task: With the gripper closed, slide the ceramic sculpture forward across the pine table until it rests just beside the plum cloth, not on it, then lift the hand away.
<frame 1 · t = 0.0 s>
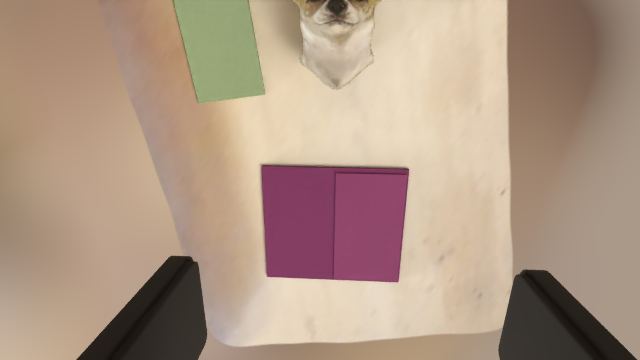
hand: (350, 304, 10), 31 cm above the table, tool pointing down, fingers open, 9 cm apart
plum cloth: (333, 226, 44), on the table
ceramic sculpture: (337, 14, 36), on the table
sage cloth: (220, 44, 37), on the table
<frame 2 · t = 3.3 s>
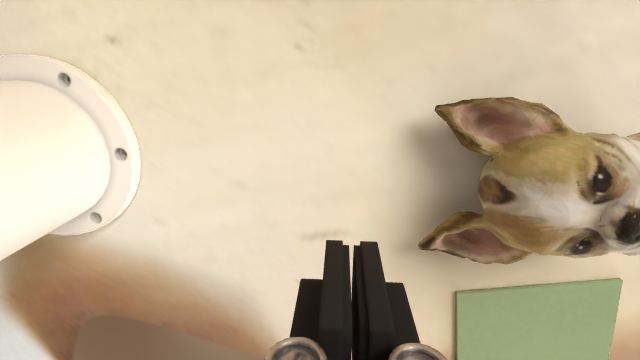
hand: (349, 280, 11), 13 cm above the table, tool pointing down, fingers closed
ceramic sculpture: (525, 173, 23), on the table
sage cloth: (532, 326, 27), on the table
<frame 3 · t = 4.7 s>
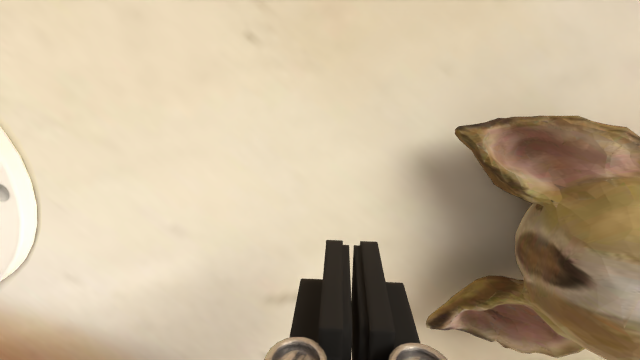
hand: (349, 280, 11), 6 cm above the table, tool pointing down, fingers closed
ceramic sculpture: (577, 219, 16), on the table
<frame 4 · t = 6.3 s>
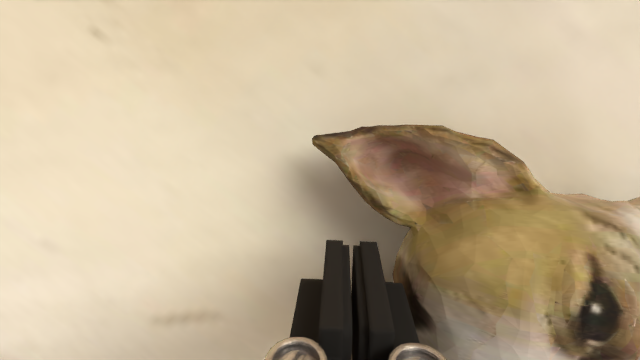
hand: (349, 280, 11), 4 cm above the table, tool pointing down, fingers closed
ceramic sculpture: (481, 239, 15), on the table, touching gripper
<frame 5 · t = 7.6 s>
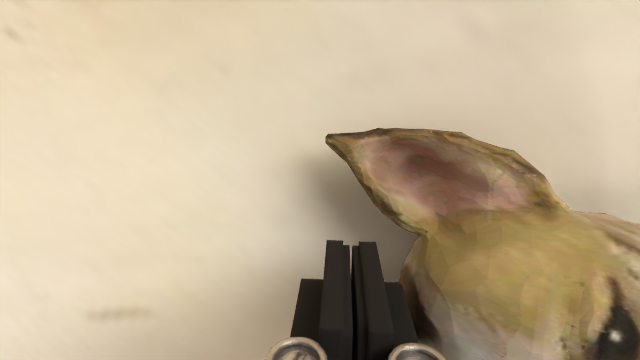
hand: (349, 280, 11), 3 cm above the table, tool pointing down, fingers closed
ceramic sculpture: (491, 252, 14), on the table, touching gripper
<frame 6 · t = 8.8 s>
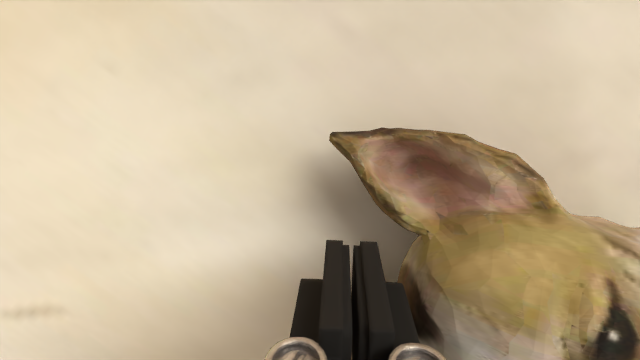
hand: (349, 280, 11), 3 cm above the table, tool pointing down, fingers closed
ceramic sculpture: (485, 253, 15), on the table, touching gripper
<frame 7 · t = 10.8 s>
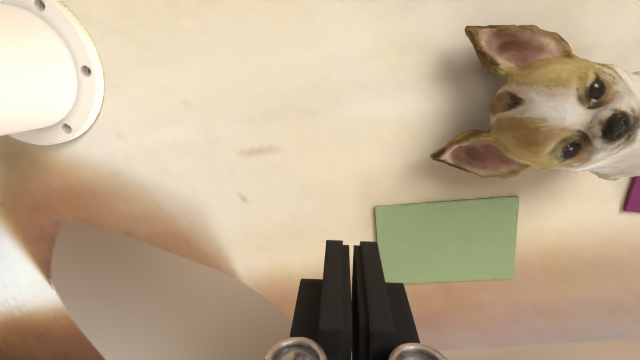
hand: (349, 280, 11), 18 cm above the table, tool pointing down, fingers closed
ceramic sculpture: (531, 109, 26), on the table
sage cloth: (444, 242, 30), on the table
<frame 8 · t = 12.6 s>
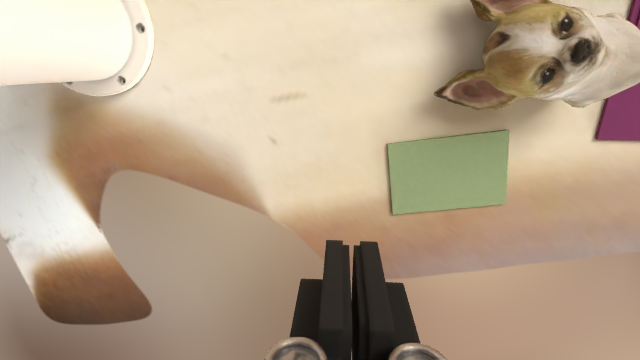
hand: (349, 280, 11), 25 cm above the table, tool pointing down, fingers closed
ceramic sculpture: (517, 55, 32), on the table
sage cloth: (447, 173, 36), on the table
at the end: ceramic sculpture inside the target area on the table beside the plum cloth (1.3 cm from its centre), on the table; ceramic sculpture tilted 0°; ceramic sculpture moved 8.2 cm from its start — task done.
